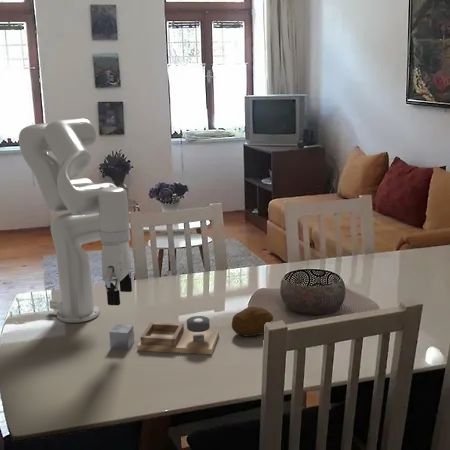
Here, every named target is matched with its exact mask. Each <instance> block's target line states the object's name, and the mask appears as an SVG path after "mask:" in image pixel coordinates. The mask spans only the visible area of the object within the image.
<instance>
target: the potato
mask: <svg viewBox="0 0 450 450" xmlns="http://www.w3.org/2000/svg"><path fill="white" fill-rule="evenodd" d="M231 320H232V321H231V329H232V330H233V332H234V333H236V334H238V335H239V336H242V337H243V336H244V337H247V336H248V337H252V336H257V335H262V334H264V333H265V332H264V324H265V323H266V322H271V321H272V322H273V321H274V315H273V314H272V313H271V312H270V311H269V310H267V309H265V308H263V307H261V306H248V307H246V308H244V309H243V310H241V311H239V312H236V313H235V314H234V316H233V317H232V319H231Z"/></svg>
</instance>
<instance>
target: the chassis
mask: <svg viewBox="0 0 450 450" xmlns="http://www.w3.org/2000/svg"><path fill="white" fill-rule="evenodd" d="M219 332H220V331H213V330H206V331H203V332H192V331H189V330H188V329H184V323H168V322H166V323H165V322H149V324H148V325H147V327H146V328H145V330H144V331H143V333H142V334H141V335H140V340H139V342H138V343H137V344H136V347H137V351H143V352H156V353H157V352H158V353H159V352H161V353H174V352H175V353H176V354H190V353H197V354H196V355H207V354H210V355H213V352H214V349H215V348H216V345H217V342H218V340H219V335H220V334H219ZM177 352H178V353H177ZM179 352H180V353H179Z"/></svg>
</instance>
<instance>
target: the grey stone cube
mask: <svg viewBox="0 0 450 450" xmlns="http://www.w3.org/2000/svg"><path fill="white" fill-rule="evenodd" d="M108 332H109V345H110V350H124V351H130V348H132V346H133V344H134V342H135V330H134V324H120V323H119V324H118V323H115V325H114V326H113V327H112V328H111V329H110V331H108Z"/></svg>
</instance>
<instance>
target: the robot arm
mask: <svg viewBox="0 0 450 450" xmlns="http://www.w3.org/2000/svg"><path fill="white" fill-rule="evenodd" d="M96 141H97V131H96V128H95V126H94V125H93V123H92V122H91V121H90V120H89V119H86V118H82V117H81V118H79V117H78V118H69V119H58V120H54V121H51V122H47V123H45V122H44V123H36V124H30V125H28V126H25V127H23V128H22V129H21V130H20V132H19V134H18V145H19V150H20V153H21V155H22V157H23V159H24V161H25V162H26V164H27V166H28V167H29V168H30V170H31V171H32V173H33V175H34V177H35V178H36V179H35V180H36V182H37V184H38V186H39V189H40V192H41V194H42V195H41V196H42V198H43V200H44V203H45V206H46V207H47V209H48V210H49V211H50V212H51V213H53V214H61V215H58V216H57V217H55V218H54V219H53V220H52V221H51V224H50V233H51V237H52V238H51V239H52V240H53V241H52V242H53V245H54V249H55V254H56V256H55V257H56V265H57V272H58V274H57V275H58V284H59V285H58V286H59V295H60V299H59V300H57V299H51V300H49V309H52V310H55V309H56V310H58V311H57V312H56V317H57V319H58V320H59V321H61V322H63V323H69V324H75V323H76V324H77V323H83V322H89V321H91V320H93V319H95V318H96V317H98V316H99V315H100V307H98V306H97V305H96V304H95V303H94V292H93V291H94V290H93V281H92V280H93V279H92V278H93V277H92V267H91V266H92V265H91V259H90V255H89V254H88V253H87V252H86V250H84V249H83V248H82V245H85V244H89V243H93V242H98V241H100V243H101V244H102V245H101V246H102V247H101V273H102V274H101V275H102V277H101V278H102V281H104V283H105V284H104V286H105V292H106V300H107V305H108V306H120V305H121V296H120V293H131V292H132V291H133V284H132V272H131V269H132V259H131V257H132V256H131V251H130V250H131V249H130V244H129V243H130V241H131V230H130V215H129V213H130V212H129V200H128V192H127V190H126V189H125V188H123V187H120V186H119V187H118V186H116V185H115V183H112V182H100V183H95V182H93V180H91V179H89V178H87V177H81V178H75V177H77V176H79V175H80V174H82V173H83V172H85V171H86V170H87V169H88V168H89V167H90V165H91V162H92V155H91V154H90V152H89V150H88V148H91V147H93V146H94V145H95V143H96ZM49 152H52V154H53V156H54V157H55V158H54V157H53V156H52V155H49V154H48V153H49Z"/></svg>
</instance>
